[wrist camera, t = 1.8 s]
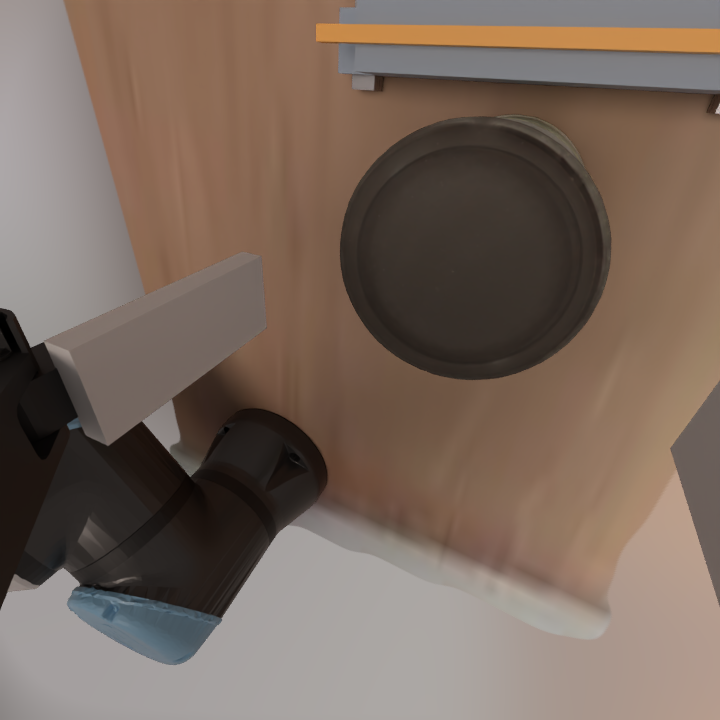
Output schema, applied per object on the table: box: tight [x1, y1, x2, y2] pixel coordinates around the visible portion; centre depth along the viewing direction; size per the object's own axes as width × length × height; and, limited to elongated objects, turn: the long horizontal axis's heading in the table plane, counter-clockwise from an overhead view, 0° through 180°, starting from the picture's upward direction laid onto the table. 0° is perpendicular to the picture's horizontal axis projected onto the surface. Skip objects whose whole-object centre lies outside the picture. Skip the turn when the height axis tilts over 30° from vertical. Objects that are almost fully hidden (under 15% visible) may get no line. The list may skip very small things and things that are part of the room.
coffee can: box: [340, 115, 611, 380], centre depth 21 cm, size 10×10×14 cm
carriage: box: [316, 0, 720, 94], centre depth 19 cm, size 22×3×5 cm, turn 85°
